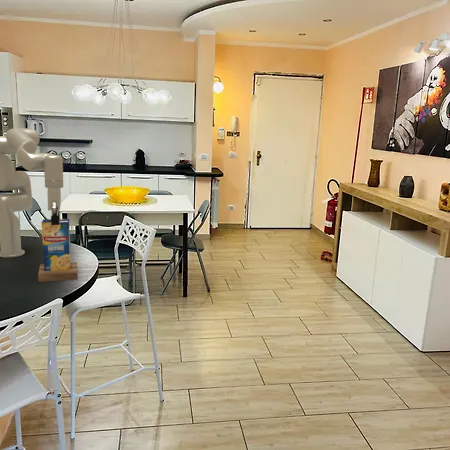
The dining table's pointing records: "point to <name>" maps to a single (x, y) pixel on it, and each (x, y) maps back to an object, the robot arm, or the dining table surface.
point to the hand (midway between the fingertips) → (55, 222)
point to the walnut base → (57, 274)
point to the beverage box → (56, 245)
